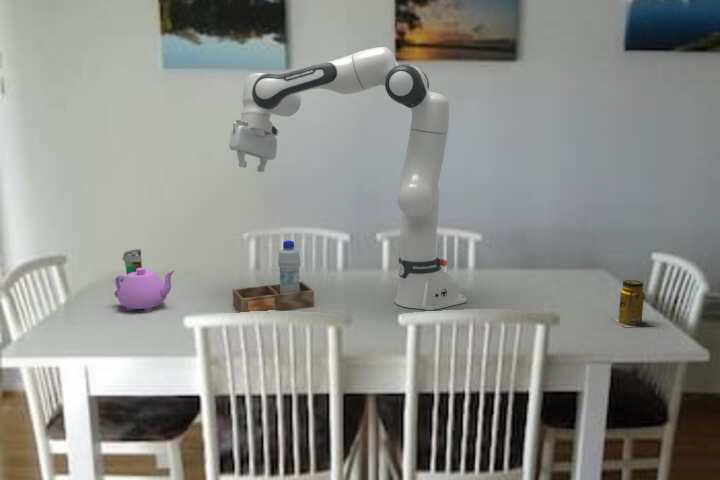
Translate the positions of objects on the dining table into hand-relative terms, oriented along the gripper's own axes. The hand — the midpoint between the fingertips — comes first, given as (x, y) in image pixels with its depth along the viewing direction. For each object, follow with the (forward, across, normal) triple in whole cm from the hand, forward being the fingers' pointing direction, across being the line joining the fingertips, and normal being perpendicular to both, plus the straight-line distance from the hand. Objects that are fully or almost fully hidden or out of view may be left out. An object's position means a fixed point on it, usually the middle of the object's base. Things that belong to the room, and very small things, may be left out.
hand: (251, 169), depth 205 cm
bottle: (+41, +7, -13) cm, 44 cm away
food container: (+39, +5, +52) cm, 65 cm away
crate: (+42, +3, -10) cm, 43 cm away
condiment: (+38, +35, -110) cm, 121 cm away
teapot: (+45, -15, +25) cm, 53 cm away
